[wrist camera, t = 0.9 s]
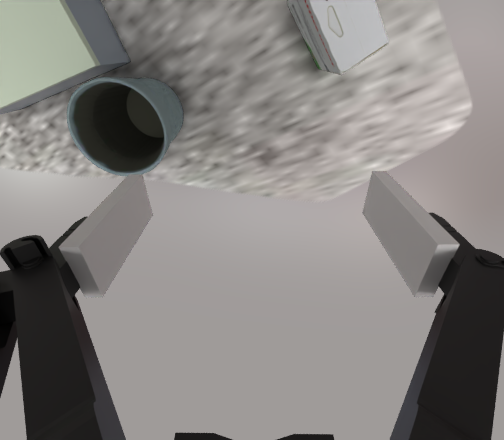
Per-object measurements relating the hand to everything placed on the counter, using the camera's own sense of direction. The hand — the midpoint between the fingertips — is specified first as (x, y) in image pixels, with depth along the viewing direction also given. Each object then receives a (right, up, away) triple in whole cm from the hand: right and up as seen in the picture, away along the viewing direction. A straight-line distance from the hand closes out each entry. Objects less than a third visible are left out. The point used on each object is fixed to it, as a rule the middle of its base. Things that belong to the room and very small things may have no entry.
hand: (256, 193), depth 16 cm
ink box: (+8, +22, +17) cm, 29 cm away
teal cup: (-14, +14, +23) cm, 30 cm away
